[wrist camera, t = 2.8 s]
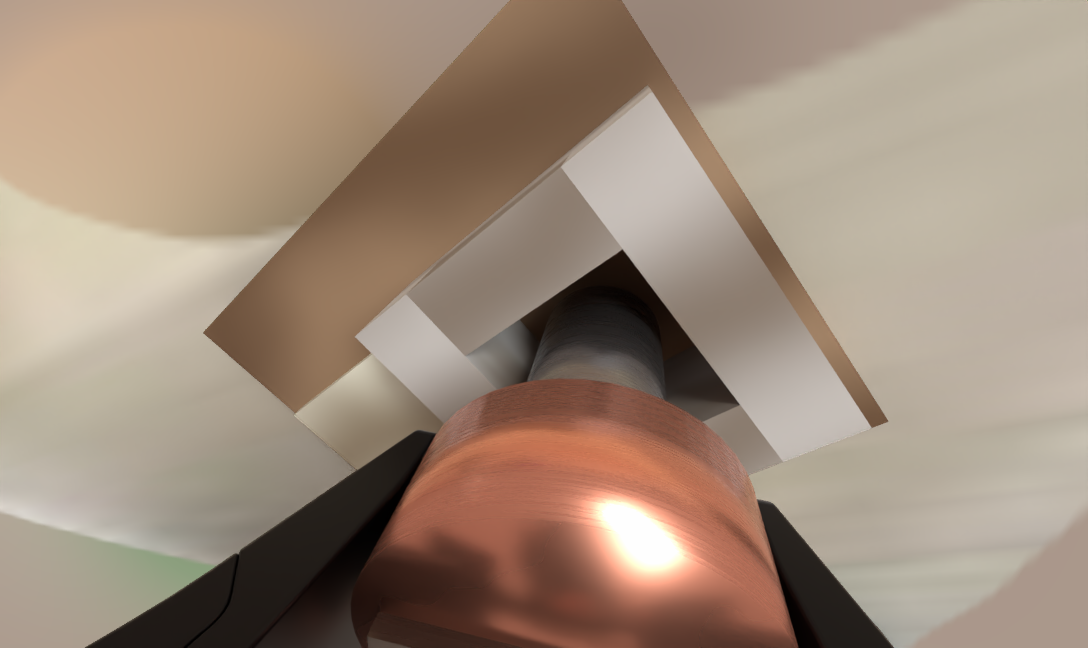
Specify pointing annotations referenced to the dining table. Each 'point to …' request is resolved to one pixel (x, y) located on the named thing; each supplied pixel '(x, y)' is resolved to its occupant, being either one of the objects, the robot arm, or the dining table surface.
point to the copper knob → (576, 512)
